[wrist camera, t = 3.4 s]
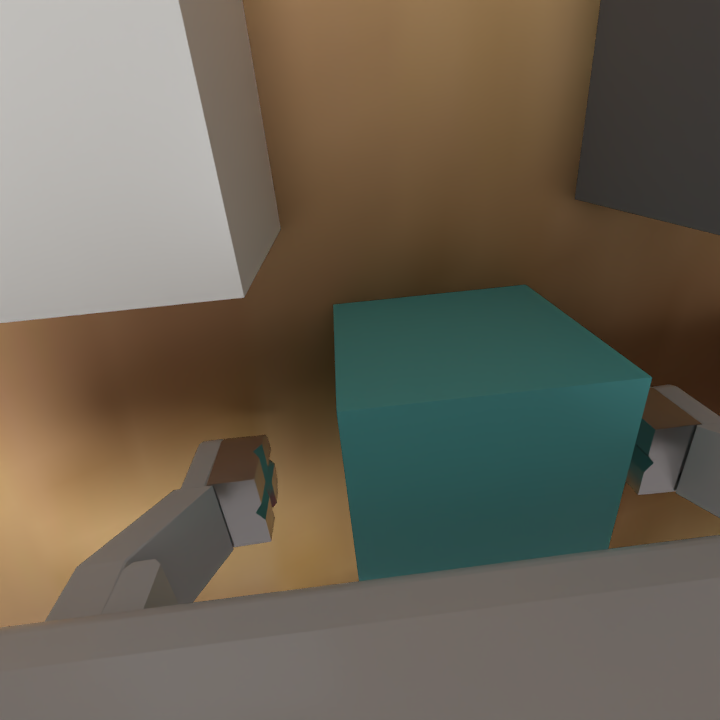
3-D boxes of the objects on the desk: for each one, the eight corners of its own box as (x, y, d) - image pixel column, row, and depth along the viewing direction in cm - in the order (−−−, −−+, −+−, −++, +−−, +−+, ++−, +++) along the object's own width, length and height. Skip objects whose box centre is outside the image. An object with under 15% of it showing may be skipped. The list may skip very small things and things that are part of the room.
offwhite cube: (234, -51, 8) (114, -291, 3) (280, 228, 10) (244, 297, 6) (-41, -26, 8) (-523, -239, 3) (68, 250, 10) (-134, 336, 6)
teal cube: (524, 283, 11) (651, 377, 7) (510, 437, 14) (599, 583, 9) (333, 303, 11) (336, 411, 7) (351, 455, 13) (363, 611, 9)
